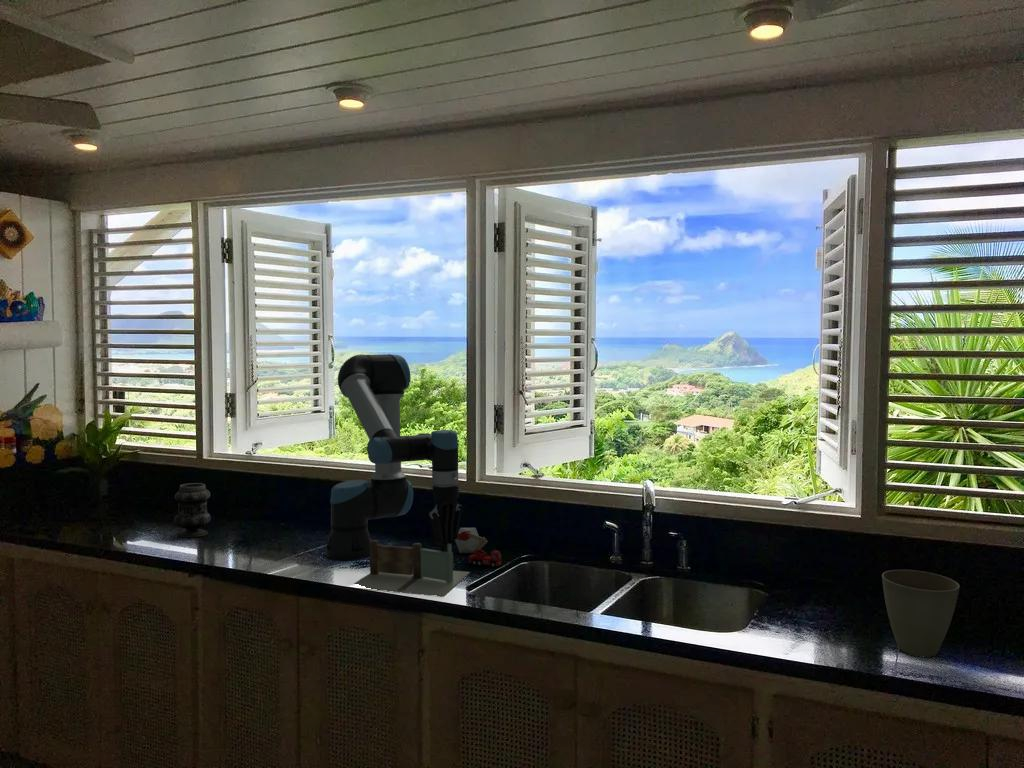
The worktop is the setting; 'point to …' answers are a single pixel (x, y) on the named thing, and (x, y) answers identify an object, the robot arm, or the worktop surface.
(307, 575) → the worktop surface
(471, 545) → the die
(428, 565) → the green rectangular block
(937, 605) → the plant pot
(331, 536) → the robot arm
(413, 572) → the base
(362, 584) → the card
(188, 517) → the dark grey urn vase
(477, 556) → the toy fire truck
